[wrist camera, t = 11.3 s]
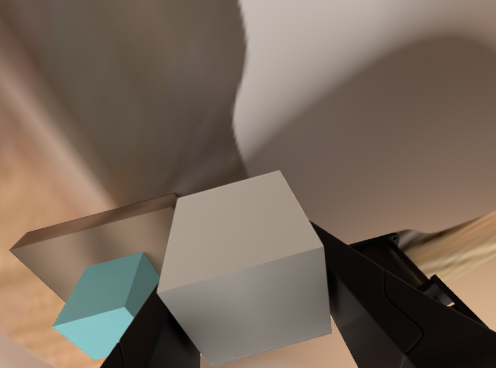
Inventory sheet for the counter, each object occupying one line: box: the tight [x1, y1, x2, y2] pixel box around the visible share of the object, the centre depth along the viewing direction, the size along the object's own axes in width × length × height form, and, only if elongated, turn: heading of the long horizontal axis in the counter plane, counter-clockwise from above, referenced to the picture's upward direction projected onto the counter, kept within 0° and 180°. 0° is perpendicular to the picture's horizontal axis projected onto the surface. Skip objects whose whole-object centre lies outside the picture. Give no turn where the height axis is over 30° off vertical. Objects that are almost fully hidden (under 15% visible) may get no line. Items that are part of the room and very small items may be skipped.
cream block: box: [157, 170, 332, 367], centre depth 8 cm, size 4×4×4 cm
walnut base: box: [9, 193, 178, 302], centre depth 22 cm, size 13×12×2 cm
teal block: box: [52, 252, 160, 360], centre depth 19 cm, size 5×5×5 cm
